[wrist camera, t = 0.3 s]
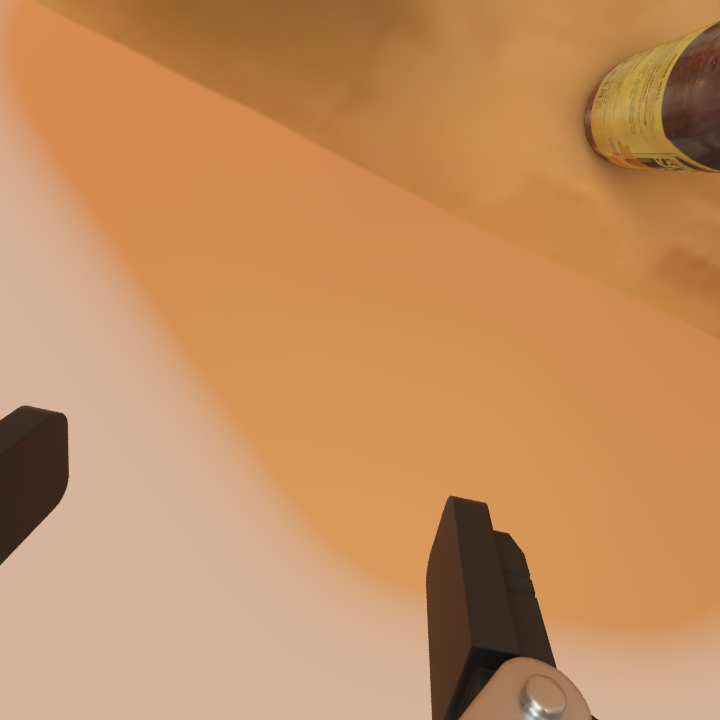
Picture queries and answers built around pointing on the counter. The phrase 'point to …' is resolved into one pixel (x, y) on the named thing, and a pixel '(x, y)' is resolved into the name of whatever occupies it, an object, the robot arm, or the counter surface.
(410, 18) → the counter surface
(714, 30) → the sauce bottle
